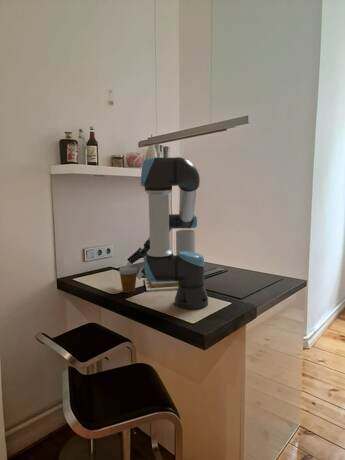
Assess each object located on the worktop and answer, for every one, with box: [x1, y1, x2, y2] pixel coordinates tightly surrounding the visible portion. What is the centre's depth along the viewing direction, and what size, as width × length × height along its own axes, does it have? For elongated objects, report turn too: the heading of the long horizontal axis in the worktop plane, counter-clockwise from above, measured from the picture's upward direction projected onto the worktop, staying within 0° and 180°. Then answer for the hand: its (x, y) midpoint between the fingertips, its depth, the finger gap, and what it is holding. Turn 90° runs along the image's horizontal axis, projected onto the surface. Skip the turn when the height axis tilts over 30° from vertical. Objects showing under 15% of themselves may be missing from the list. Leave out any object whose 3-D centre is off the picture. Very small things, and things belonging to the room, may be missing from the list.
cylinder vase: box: [175, 229, 196, 255], centre depth 205 cm, size 12×12×25 cm
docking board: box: [143, 277, 178, 293], centre depth 170 cm, size 22×22×3 cm
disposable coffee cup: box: [118, 265, 139, 294], centre depth 159 cm, size 10×10×12 cm
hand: (130, 275), depth 161 cm, fingers open, 13 cm apart
